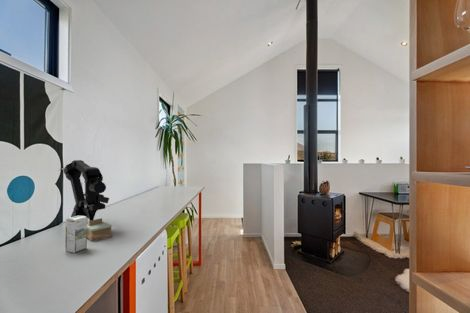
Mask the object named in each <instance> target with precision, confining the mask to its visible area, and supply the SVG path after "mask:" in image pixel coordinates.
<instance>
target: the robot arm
mask: <svg viewBox="0 0 470 313" xmlns="http://www.w3.org/2000/svg"><path fill="white" fill-rule="evenodd" d="M63 173H64V175H65V178H66V179H67V180H68V181H70V184H71V189H72V193H73V197H74V202H75V204H74V205H73V206H74V207H73V211H72V212H71V215H70V218H71V217H75V216H85V217H87V219H88V221H87V224H88V223H89V221H91V220H95V219H94V218H95V216H96V213H97V211H99V210H105V209H106V204H108V203H109V200H110V197H106V196H105V195H104V194H103V193H104V192H105V191H106V189H107V186H106V184H105V182H103V181H104V178H103V177H104V176H103V174H102V173H101V170H100V168H99V167H96V166H90V165H88V164H87V163H85V162H84V160H81V159H76V160H75V159H74V160H72V161H71V162H70V163H68V164H65V166H64V168H63ZM81 177H82V178H83V179H84V189H83V186H82V180H81ZM83 190H84V191H83Z"/></svg>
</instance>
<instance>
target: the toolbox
mask: <svg viewBox="0 0 470 313" xmlns="http://www.w3.org/2000/svg"><path fill="white" fill-rule="evenodd" d="M110 237H112V227H109V228H104V229H100V230H96V231H90V230H88V229H87V240H89V241H90V242H96V241H100V240H103V239H108V238H110Z"/></svg>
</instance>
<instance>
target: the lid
mask: <svg viewBox="0 0 470 313" xmlns="http://www.w3.org/2000/svg"><path fill="white" fill-rule="evenodd" d="M109 227H111V228H112V227H113V225H112V224H110V223H108V222H105V221H103V218H97V219H93V220H91V221H90V220H88V224H87V229H88V230H90V231H96V230H100V229H104V228H109Z"/></svg>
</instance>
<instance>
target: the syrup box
mask: <svg viewBox="0 0 470 313" xmlns="http://www.w3.org/2000/svg"><path fill="white" fill-rule="evenodd" d="M87 222H88V218H87V217H85V216H75V217H71V216H70V217H67V218H65V250H64V251H65V252H67V253H73V254H75V253H78V252H81V251H84V250H85V249H87V246H88V245H87V244H88V243H87V240H88V239H87Z"/></svg>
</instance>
